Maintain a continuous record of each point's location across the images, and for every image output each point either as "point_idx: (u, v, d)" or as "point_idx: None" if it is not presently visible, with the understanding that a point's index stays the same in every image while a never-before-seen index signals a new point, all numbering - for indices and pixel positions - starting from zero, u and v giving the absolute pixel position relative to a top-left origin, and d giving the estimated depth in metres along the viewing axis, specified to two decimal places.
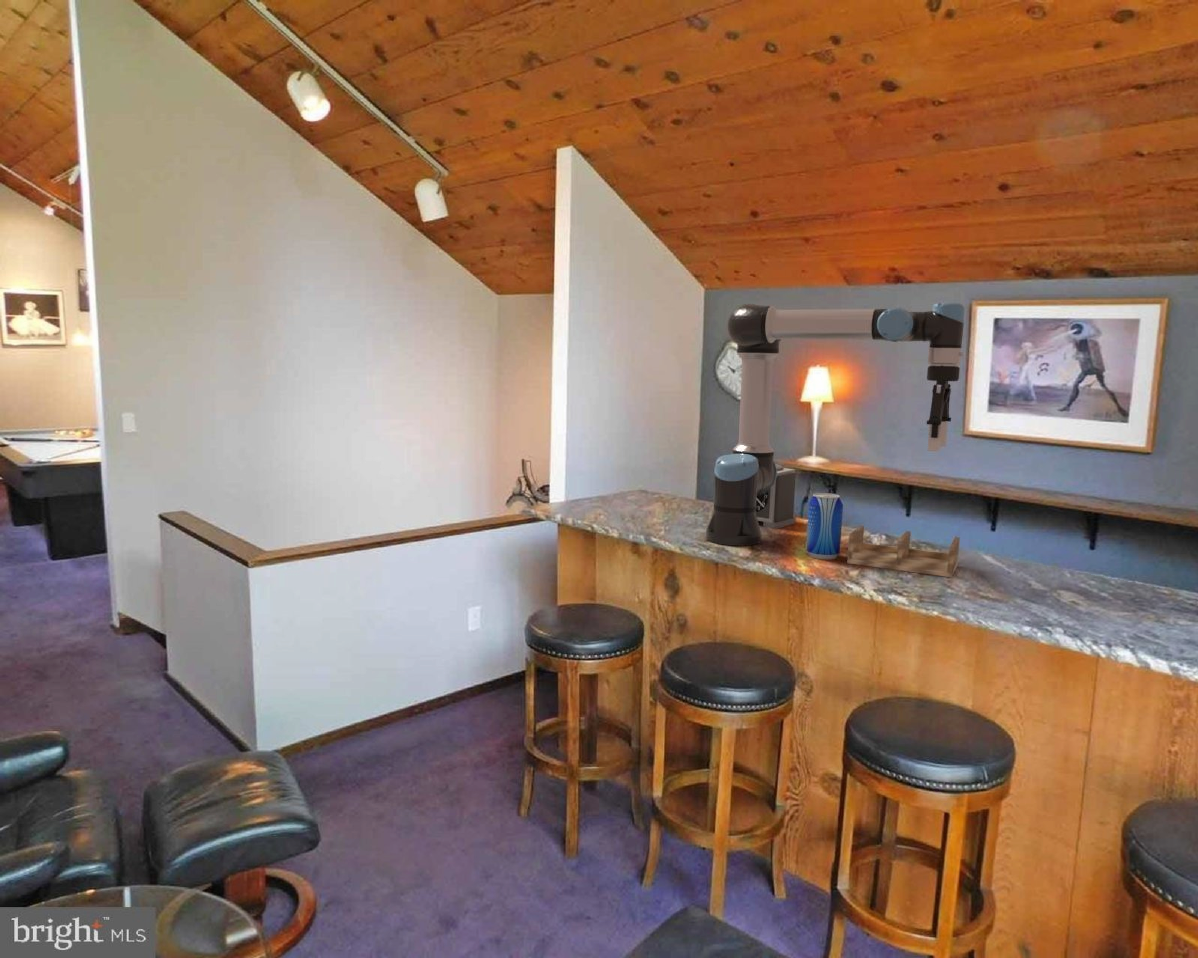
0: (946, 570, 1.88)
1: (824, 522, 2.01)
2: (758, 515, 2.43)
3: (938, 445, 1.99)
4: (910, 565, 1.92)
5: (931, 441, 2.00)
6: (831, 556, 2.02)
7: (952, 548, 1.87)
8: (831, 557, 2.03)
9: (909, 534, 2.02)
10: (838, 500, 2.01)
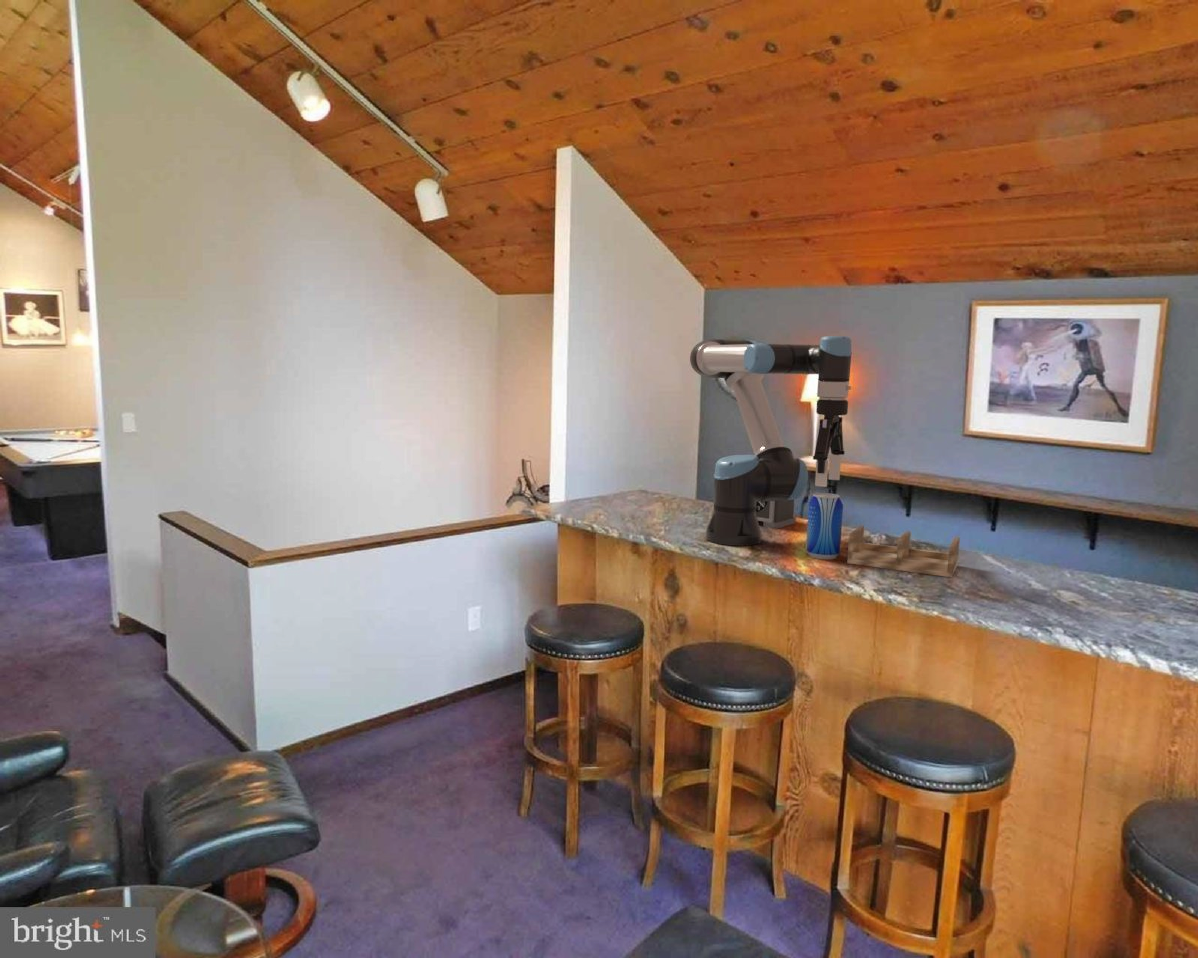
0: (946, 570, 1.88)
1: (824, 522, 2.01)
2: (758, 515, 2.43)
3: (825, 480, 1.96)
4: (910, 565, 1.92)
5: (818, 477, 1.97)
6: (831, 556, 2.02)
7: (952, 548, 1.87)
8: (831, 557, 2.03)
9: (909, 534, 2.02)
10: (838, 500, 2.01)
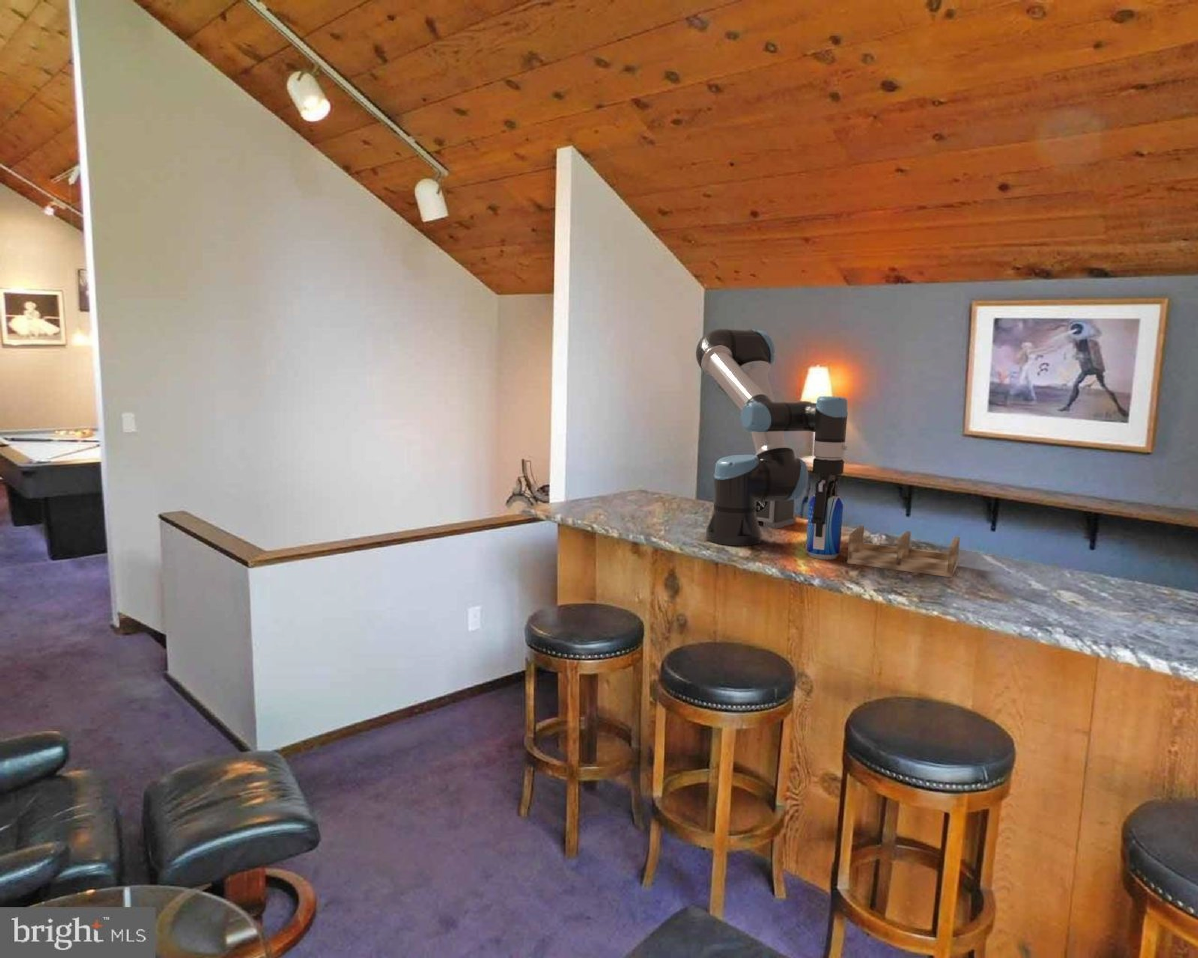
0: (946, 570, 1.88)
1: None
2: (758, 515, 2.43)
3: (823, 544, 2.01)
4: (910, 565, 1.92)
5: (816, 540, 2.01)
6: (831, 556, 2.02)
7: (952, 548, 1.87)
8: (831, 557, 2.03)
9: (909, 534, 2.02)
10: (838, 500, 2.01)
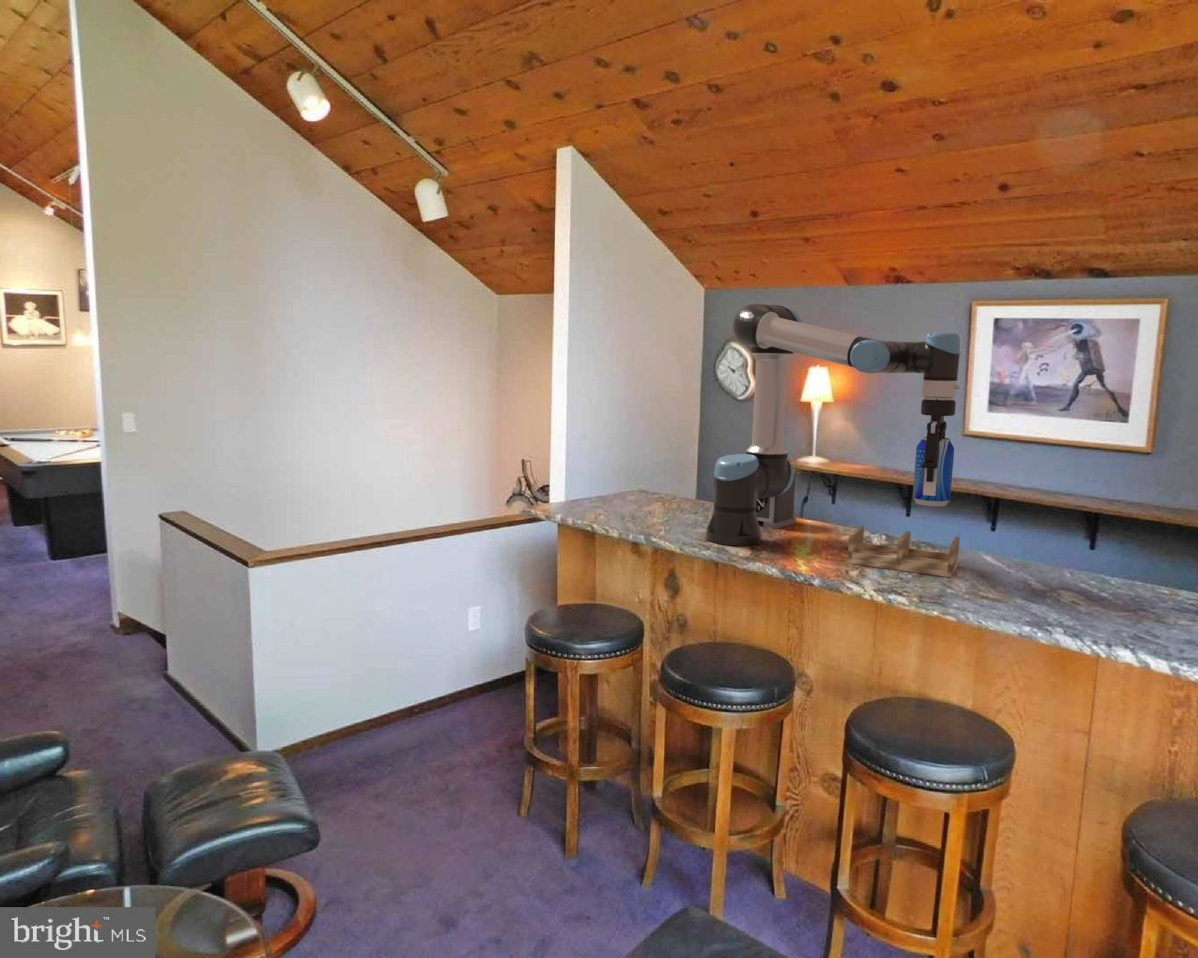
0: (946, 570, 1.88)
1: None
2: (758, 515, 2.43)
3: (934, 489, 1.89)
4: (910, 565, 1.92)
5: (926, 485, 1.90)
6: (942, 503, 1.91)
7: (952, 548, 1.87)
8: (942, 504, 1.91)
9: (909, 534, 2.02)
10: (950, 443, 1.90)
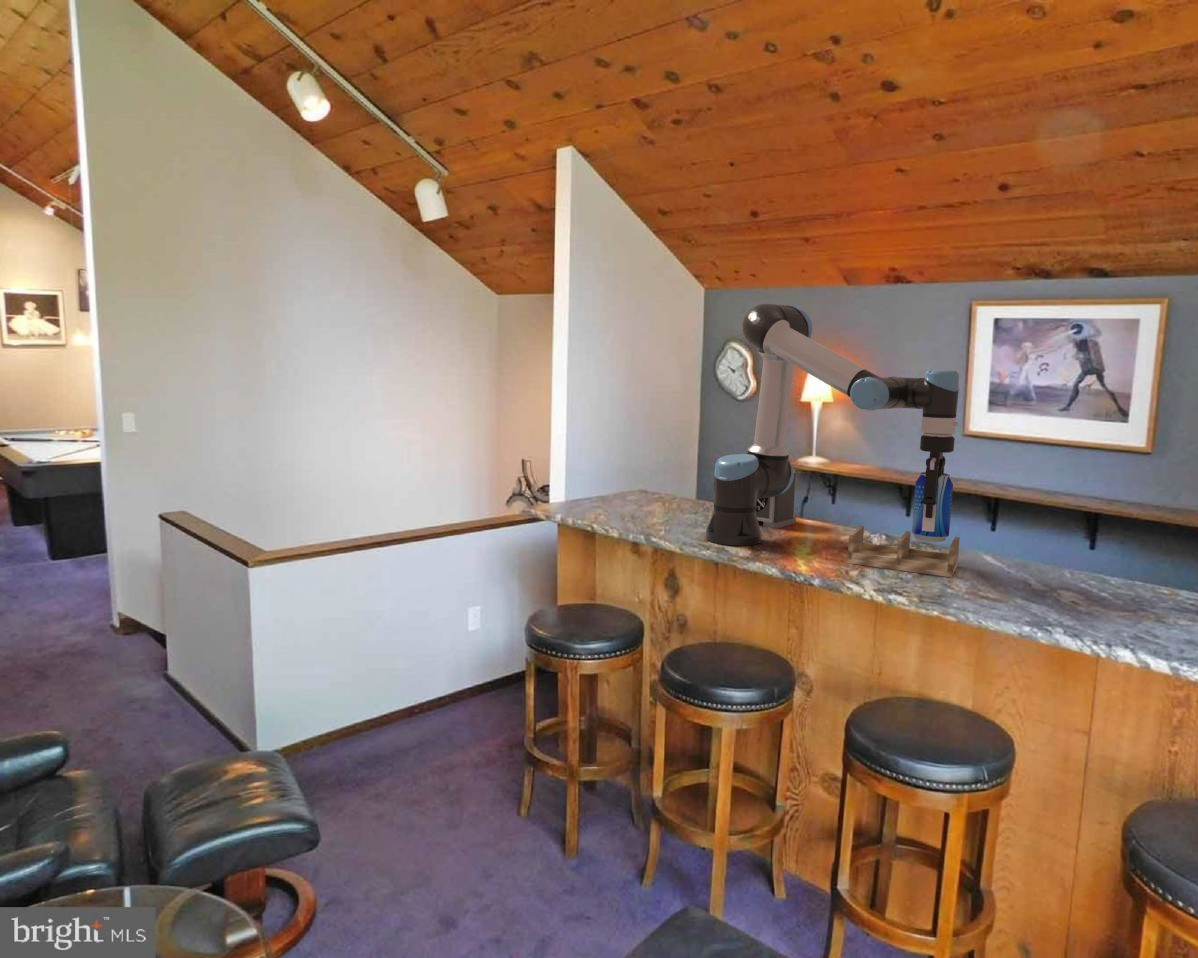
0: (946, 570, 1.88)
1: None
2: (758, 515, 2.43)
3: (933, 525, 1.90)
4: (910, 565, 1.92)
5: (925, 521, 1.91)
6: (941, 538, 1.92)
7: (952, 548, 1.87)
8: (941, 539, 1.92)
9: (909, 534, 2.02)
10: (948, 479, 1.91)
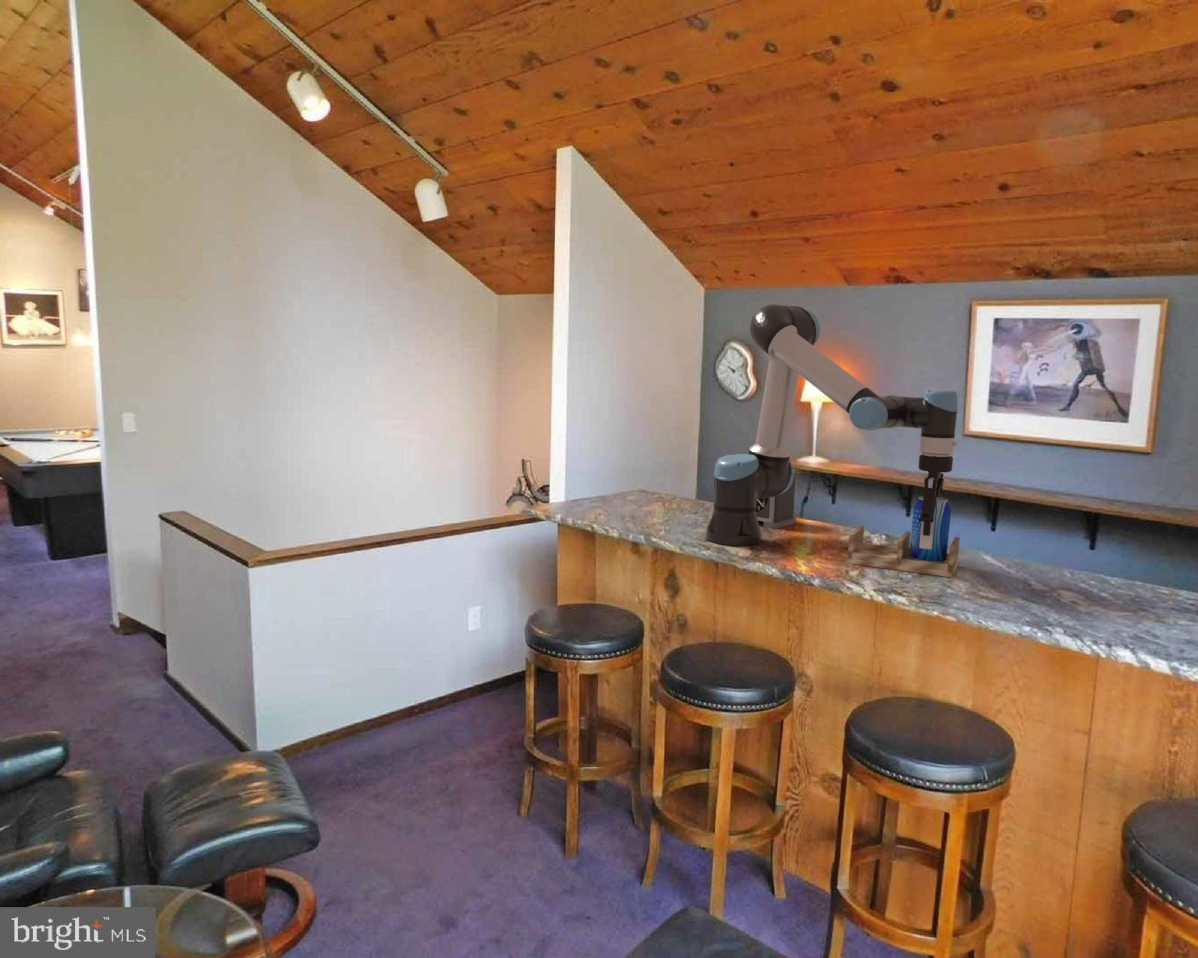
0: (946, 570, 1.88)
1: None
2: (758, 515, 2.43)
3: (930, 543, 1.90)
4: (910, 565, 1.92)
5: (923, 538, 1.90)
6: None
7: (952, 548, 1.87)
8: None
9: (909, 534, 2.02)
10: (947, 504, 1.92)
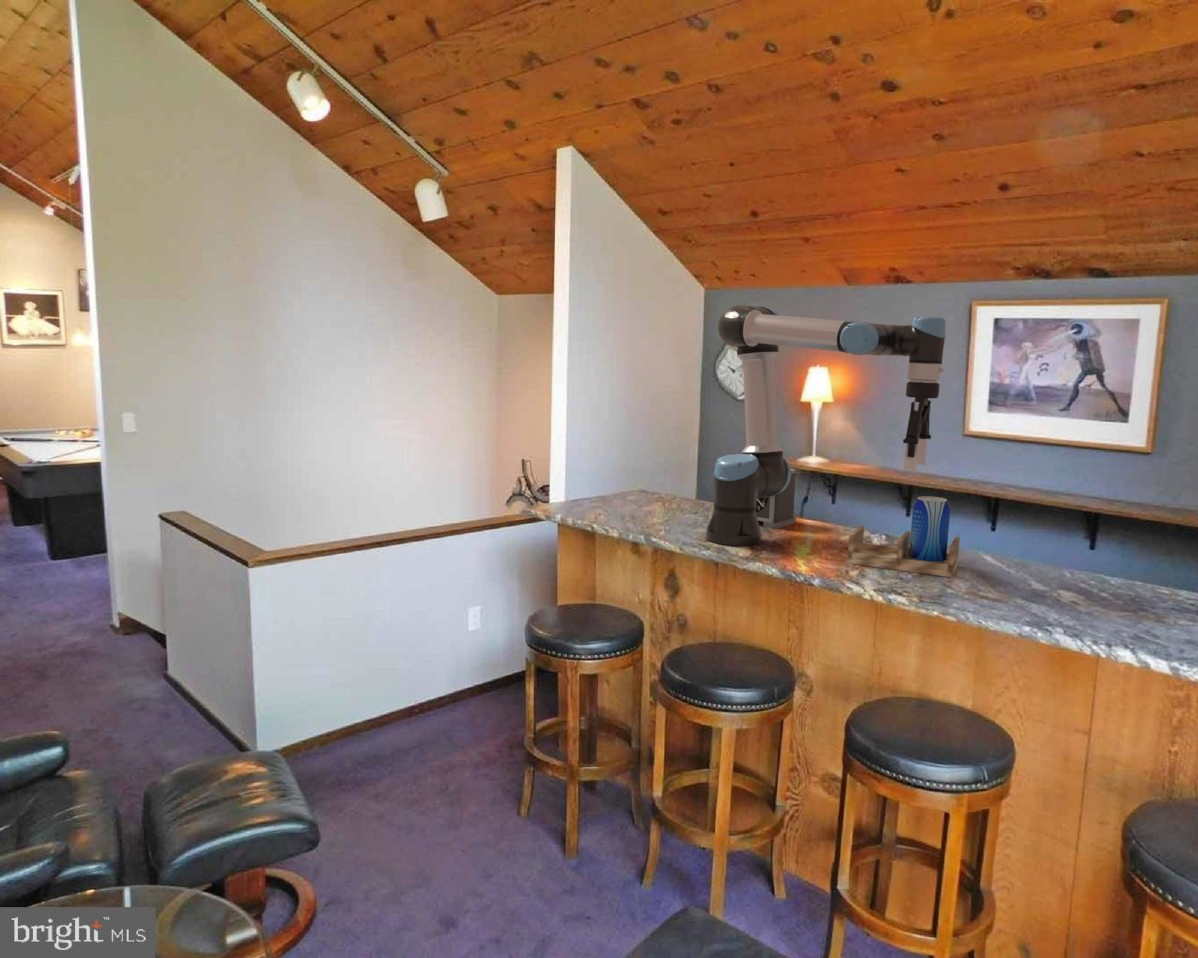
0: (946, 570, 1.88)
1: (932, 527, 1.91)
2: (758, 515, 2.43)
3: (915, 465, 1.92)
4: (910, 565, 1.92)
5: (907, 460, 1.93)
6: None
7: (952, 548, 1.87)
8: None
9: (909, 534, 2.02)
10: (946, 504, 1.92)
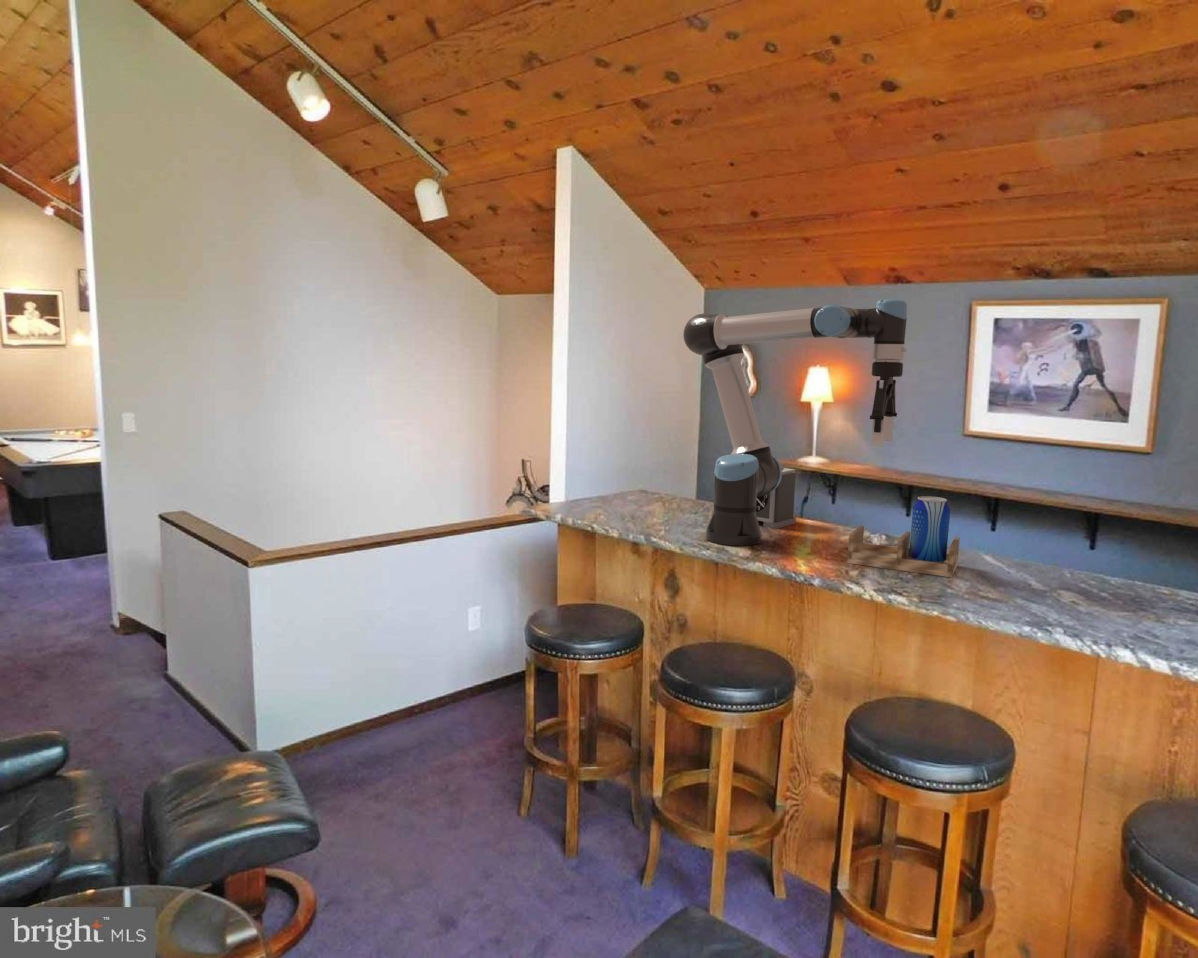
0: (946, 570, 1.88)
1: (932, 527, 1.91)
2: (758, 515, 2.43)
3: (881, 439, 2.03)
4: (910, 565, 1.92)
5: (874, 436, 2.04)
6: None
7: (952, 548, 1.87)
8: None
9: (909, 534, 2.02)
10: (946, 504, 1.92)
